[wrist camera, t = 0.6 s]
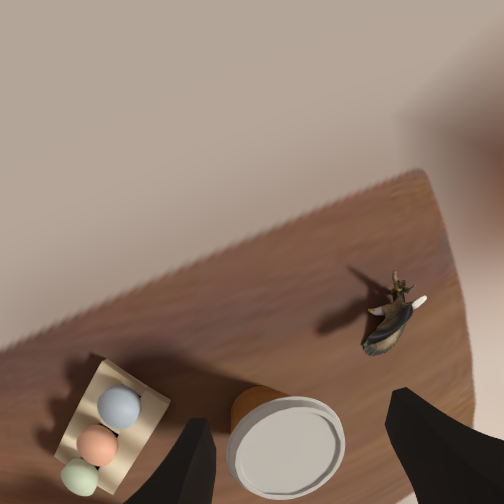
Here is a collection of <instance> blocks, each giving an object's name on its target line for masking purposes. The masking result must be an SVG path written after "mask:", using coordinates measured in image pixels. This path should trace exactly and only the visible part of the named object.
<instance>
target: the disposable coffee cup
mask: <svg viewBox="0 0 504 504" xmlns="http://www.w3.org/2000/svg"><path fill="white" fill-rule="evenodd" d="M344 450H345V437H344V433H343V429H342V425H341V422H340V420H339V418H338V416H337V415H336V414H335V412H334V411H333V410H332V409H331V408H330V407H328V406H327V405H325V404H324V403H322V402H320V401H318V400H315V399H312V398H308V397H301V396H290V395H288V394H285V393H283V392H280V391H277V390H275V389H272V388H270V387H265V386H257V387H252V388H249V389H247V390H245V391H243V392H242V393H241V394H239V395H238V397H237V398H236V399H235V401H234V403H233V404H232V408H231V436H230V438H229V441H228V445H227V449H226V459H227V465H228V468H229V470H230V472H231V475H232V476H233V477H234V479H235V480H236V481H237V482H238V483H239V484H240V485H241V486H243V487H244V488H245V489H247V490H249V491H251V492H252V493H254V494H256V495H259V496H261V497H264V498H268V499H275V500H284V499H292V498H297V497H300V496H303V495H306V494H308V493H310V492H312V491H314V490H316V489H317V488H319V487H320V486H321V485H323V484H324V483H325V482H326V481H327V480H328V479H329V478H330V477H331V476H332V475H333V474H334V473H335V471H336V470H337V468H338V467H339V465H340V463H341V461H342V458H343V455H344Z"/></svg>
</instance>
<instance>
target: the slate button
mask: <svg viewBox="0 0 504 504" xmlns="http://www.w3.org/2000/svg"><path fill="white" fill-rule="evenodd" d="M97 410H98V413H99V415H100V417H101V418H102V420H103V421H104V422H105V423H106V424H108V425H109V426H111V427H113V428H117V429H126V428H129V427H130V426H132V425H133V424H134V423H135V421H136V419H137V417H138V416H139V414H140V412H141V400H140V398H139V396H138V394H137V393H136V392H135V391H134V390H133V389H131V388H130V387H128V386H125V385H114V386H112V387H110V388H109V389H108V390H106V391H105V392H104V393H103V394H102V395H101V396H100V397H99V399H98V402H97Z"/></svg>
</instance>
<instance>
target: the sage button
mask: <svg viewBox="0 0 504 504" xmlns="http://www.w3.org/2000/svg"><path fill="white" fill-rule="evenodd" d="M61 479H62V481H63V483H64V485H65V486H66V487H67V488H68V489H69V490H70V491H72V492H73V493H75V494H77V495H80V496H90V495H91V494H93V492H94V490H95V488H96V487H97V485H98V483H99V481H100V475H99V473H98V471H97V469H96V466H95V465H92V464H90V463H88V462H87V461H86V460H83V459H79V458H76V459H72V460H71V461H70V462H69V463H68V464H67V465H66V466H65V468H64V469H63V470H62V471H61Z"/></svg>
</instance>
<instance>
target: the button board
mask: <svg viewBox="0 0 504 504" xmlns="http://www.w3.org/2000/svg"><path fill="white" fill-rule="evenodd" d="M114 385H125V386H128V387H130V388H131V389H133V390H134V391H135V392H136V393H137V394H138V395H140V396H141V398H140V400H141V412H140V414H139V416H138V417H137V419H136V421H135V423H134V424H133V425H132V426H130V427H129V428H126V429H117V428H113V427H111V426H109V425H108V424H106V423H105V422H104V421H103V420H102V418H101V417H100V415H99V413H98V410H97V402H98V399H99V397H100V396H101V395H102V394H103V393H104V392H105V391H106V390H108V389H109V388H110V387H112V386H114ZM170 401H171V400H170V399H168V398H167V397H165V396H163V395H162V394H160V393H158V392H157V391H155V390H153V389H152V388H150V387H149V386H147V385H145V384H144V383H142V382H141V381H139V380H138V379H136V378H135V377H133V376H132V375H130V374H129V373H127V372H126V371H124V370H123V369H121V368H120V367H118V366H117V365H116V364H114V363H113V362H111V361H110V360H109V359H106V360H104V361H102V362H101V364H100V366H99V368H98V369H97V371H96V373H95V375H94V377H93V379H92V380H91V382H90V384H89V386H88V388H87V390H86V392H85V394H84V396H83V397H82V399H81V401H80V403H79V405H78V407H77V409H76V411H75V413H74V415H73V417H72V419H71V421H70V423H69V425H68V427H67V429H66V431H65V433H64V436H63V438H62V440H61V442H60V444H59V446H58V448H57V451H56V453H55V455H54V457H55V458H57V459H58V460H59V461H61V462H62V463H64V464H65V465H67V464H68V463H69V462H70V461H71V460H72V459H76V458H79V459H82V456H81V455H80V454H79V452H78V450H77V446H76V442H77V439H78V437H79V436H80V435H81V434H82V433H83V432H84V431H85V430H86V429H87V428H88V427H89V426H92V425H100V424H101V423H102V424H104V425H105V426H107V427H108V428H110V429H111V430H113V431H114V432H116V433H117V434H119V435H118V437H117V441H118V450H117V452H116V454H115V456H114V458H113V460H112V461H111V463H110V464H108V465H106V466H101V467H100V468H99V470H98V473H99V475H100V481H99V483H98V485H97V486H98V487H100V488H102V489H104V490H105V491H107V492H109V493H110V494H112V495H113V494H114V492H115V491H116V489H117V488H118V486H119V484H120V483H121V481H122V480H123V478H124V477H125V475H126V473H127V472H128V470H129V469H130V467H131V465H132V464H133V462H134V461H135V459H136V458H137V456H138V454H139V453H140V451H141V450H142V448H143V446H144V445H145V443H146V442H147V440H148V438H149V437H150V435H151V434H152V432H153V430H154V429H155V427H156V426H157V424H158V422H159V421H160V419H161V418H162V416H163V414H164V413H165V411H166V410H167V408H168V406H169V404H170Z"/></svg>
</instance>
